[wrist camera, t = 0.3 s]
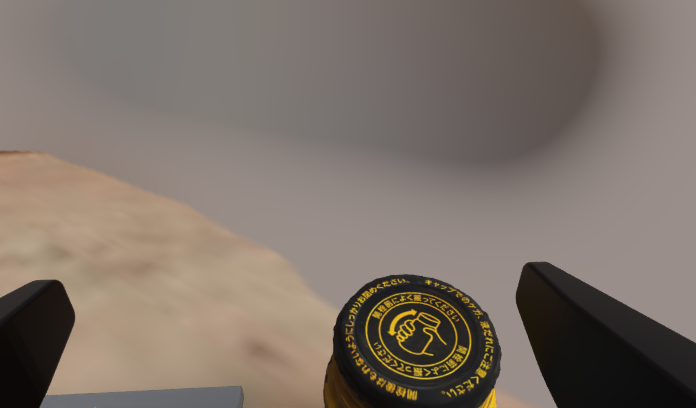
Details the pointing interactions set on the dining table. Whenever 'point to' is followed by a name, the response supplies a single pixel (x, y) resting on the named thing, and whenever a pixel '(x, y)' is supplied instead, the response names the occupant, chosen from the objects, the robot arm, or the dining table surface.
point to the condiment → (412, 348)
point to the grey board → (152, 399)
